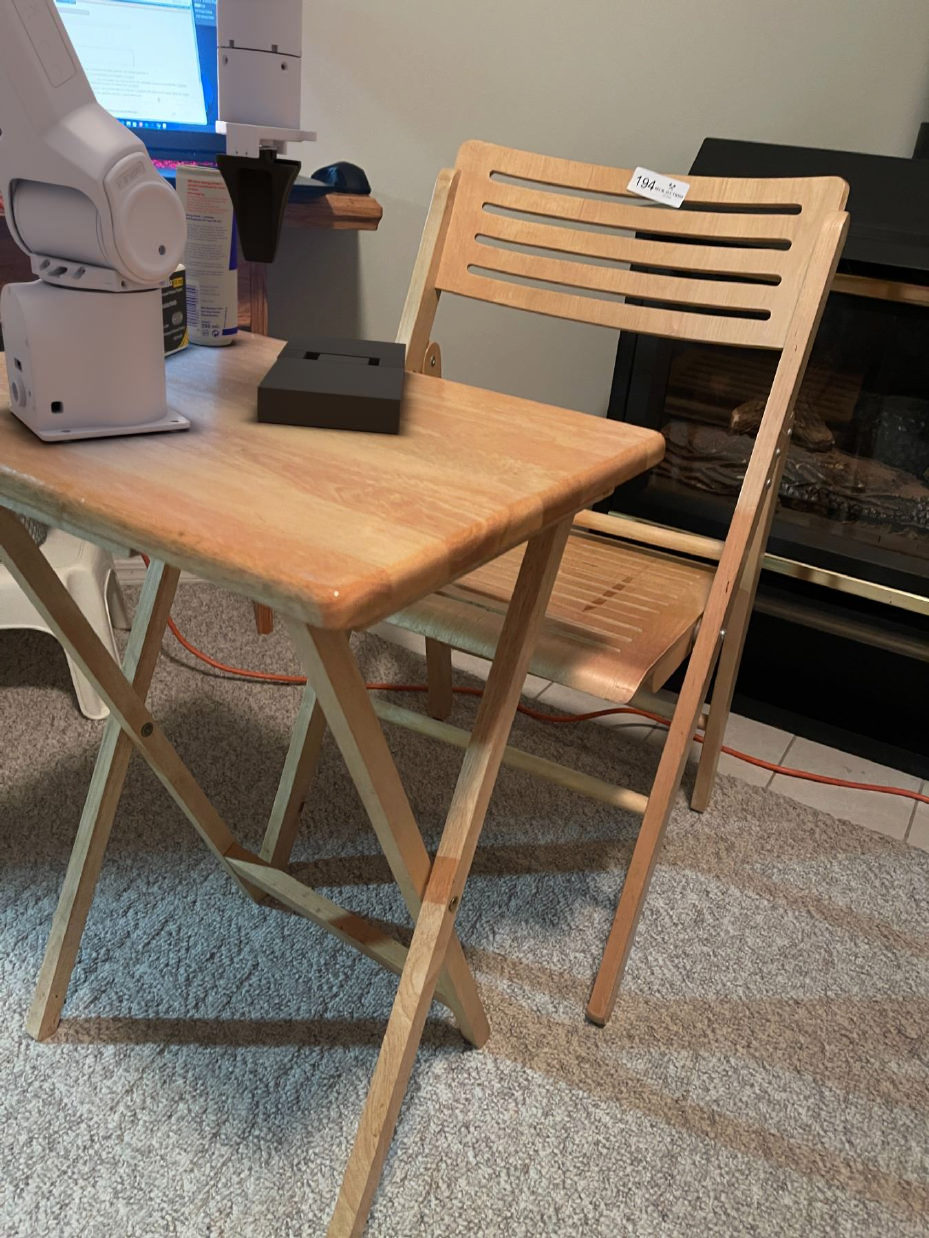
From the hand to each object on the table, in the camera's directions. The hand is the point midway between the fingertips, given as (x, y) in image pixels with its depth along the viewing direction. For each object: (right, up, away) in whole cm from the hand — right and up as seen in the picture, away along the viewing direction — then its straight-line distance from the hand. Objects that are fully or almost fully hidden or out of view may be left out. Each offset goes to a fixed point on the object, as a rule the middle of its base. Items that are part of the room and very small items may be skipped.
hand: (259, 261), depth 71 cm
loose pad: (+6, -11, +1) cm, 12 cm away
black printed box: (-13, -4, +11) cm, 18 cm away
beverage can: (-8, -1, +17) cm, 19 cm away
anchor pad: (+5, -7, +9) cm, 12 cm away
